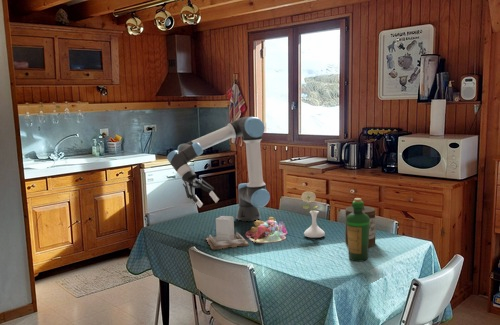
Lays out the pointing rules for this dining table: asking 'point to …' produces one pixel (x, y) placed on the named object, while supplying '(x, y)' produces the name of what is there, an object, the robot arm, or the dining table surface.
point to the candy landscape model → (266, 231)
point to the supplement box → (225, 228)
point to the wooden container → (371, 215)
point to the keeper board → (227, 242)
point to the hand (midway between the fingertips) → (209, 203)
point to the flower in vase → (313, 229)
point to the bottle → (358, 232)
